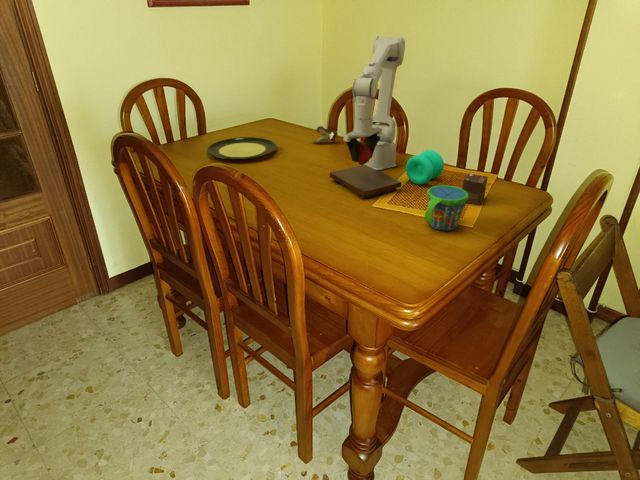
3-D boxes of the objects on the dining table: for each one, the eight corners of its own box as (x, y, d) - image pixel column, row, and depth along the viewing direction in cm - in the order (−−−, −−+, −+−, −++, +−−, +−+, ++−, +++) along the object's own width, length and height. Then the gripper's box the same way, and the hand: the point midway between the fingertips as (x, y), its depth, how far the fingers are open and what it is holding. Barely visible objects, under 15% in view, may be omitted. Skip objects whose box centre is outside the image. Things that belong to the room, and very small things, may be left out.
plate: (290, 149, 186) (290, 143, 185) (246, 169, 166) (246, 162, 165) (239, 138, 200) (239, 133, 198) (192, 156, 179) (191, 150, 178)
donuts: (402, 181, 154) (405, 153, 149) (418, 173, 161) (421, 146, 156) (428, 189, 148) (431, 160, 143) (443, 180, 155) (447, 152, 150)
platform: (365, 172, 162) (365, 164, 161) (400, 190, 147) (401, 182, 146) (329, 180, 156) (329, 172, 154) (363, 200, 141) (363, 191, 139)
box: (479, 205, 137) (483, 183, 133) (459, 201, 139) (462, 179, 136) (484, 198, 141) (488, 176, 137) (465, 194, 144) (468, 173, 140)
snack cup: (447, 212, 133) (452, 179, 128) (476, 225, 125) (482, 191, 120) (409, 226, 125) (412, 192, 120) (438, 241, 118) (443, 206, 113)
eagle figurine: (336, 136, 197) (316, 132, 197) (338, 125, 190) (317, 121, 190) (333, 150, 193) (312, 145, 193) (335, 139, 187) (313, 135, 187)
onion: (371, 162, 150) (373, 139, 147) (369, 168, 146) (370, 144, 142) (354, 161, 152) (355, 138, 148) (351, 167, 147) (352, 143, 143)
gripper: (372, 111, 148) (370, 151, 154) (337, 118, 140) (337, 160, 147) (387, 115, 143) (384, 157, 149) (352, 123, 135) (350, 166, 142)
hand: (362, 159), depth 148 cm, fingers closed on onion, 6 cm apart
